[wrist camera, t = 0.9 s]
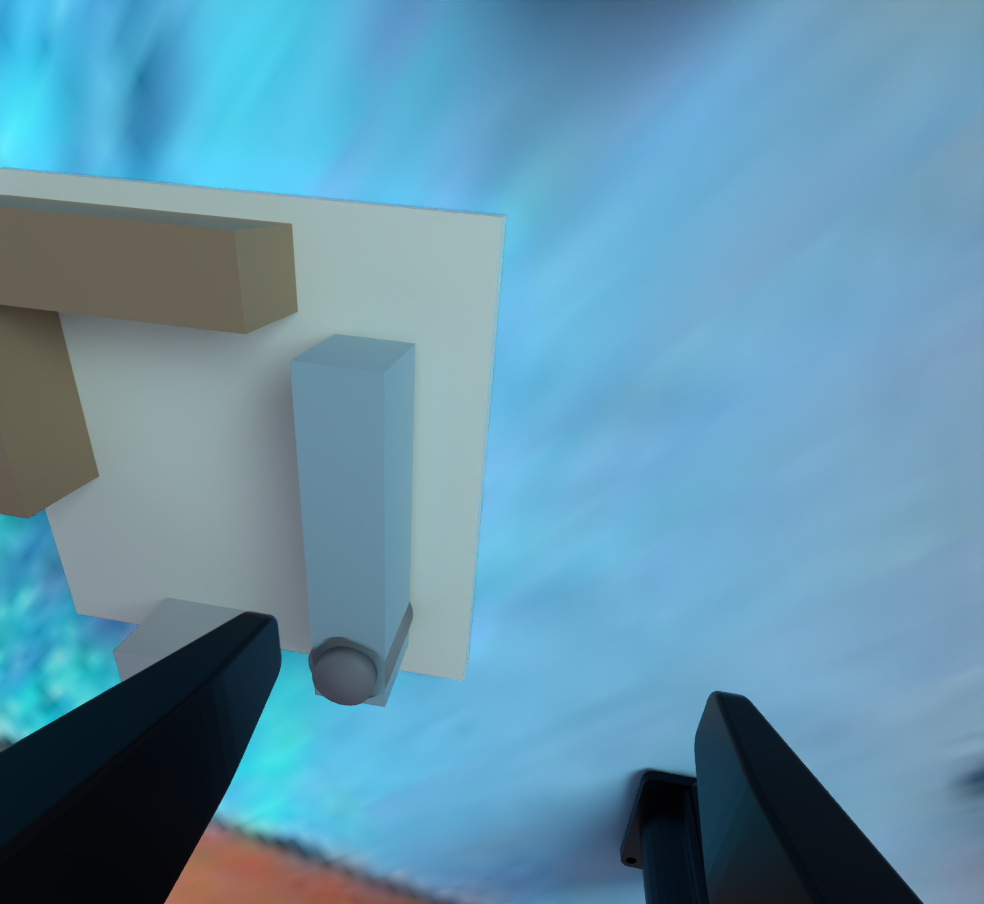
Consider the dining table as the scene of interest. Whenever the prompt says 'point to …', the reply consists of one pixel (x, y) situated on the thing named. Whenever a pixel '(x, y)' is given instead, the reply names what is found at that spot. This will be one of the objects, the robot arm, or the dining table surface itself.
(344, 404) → the leg
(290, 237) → the seat
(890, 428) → the dining table surface
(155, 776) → the robot arm
